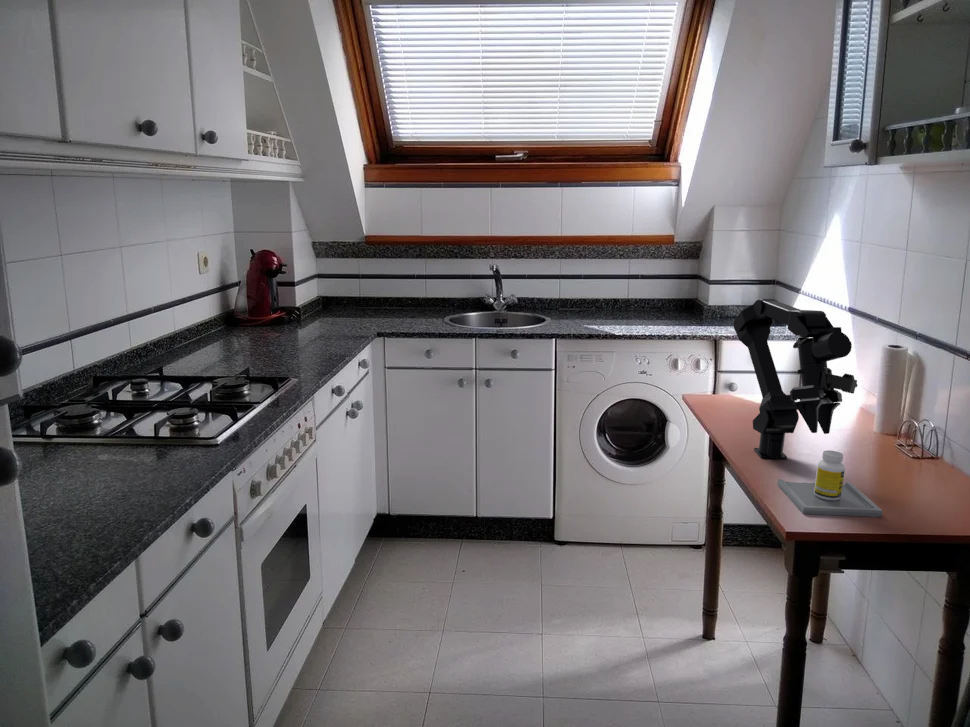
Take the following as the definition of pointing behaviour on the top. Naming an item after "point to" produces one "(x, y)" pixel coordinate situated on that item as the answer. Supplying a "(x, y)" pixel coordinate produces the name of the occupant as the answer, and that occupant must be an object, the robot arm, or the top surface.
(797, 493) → the gray tray
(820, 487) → the supplement bottle
